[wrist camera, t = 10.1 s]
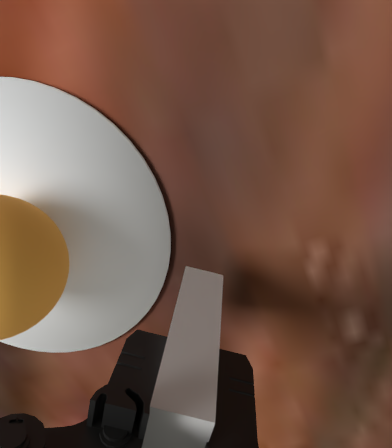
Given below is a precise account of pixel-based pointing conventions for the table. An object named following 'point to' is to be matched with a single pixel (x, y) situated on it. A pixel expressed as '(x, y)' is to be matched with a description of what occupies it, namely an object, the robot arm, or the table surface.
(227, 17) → the table surface
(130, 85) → the table surface
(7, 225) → the ball
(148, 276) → the disc
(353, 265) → the table surface
